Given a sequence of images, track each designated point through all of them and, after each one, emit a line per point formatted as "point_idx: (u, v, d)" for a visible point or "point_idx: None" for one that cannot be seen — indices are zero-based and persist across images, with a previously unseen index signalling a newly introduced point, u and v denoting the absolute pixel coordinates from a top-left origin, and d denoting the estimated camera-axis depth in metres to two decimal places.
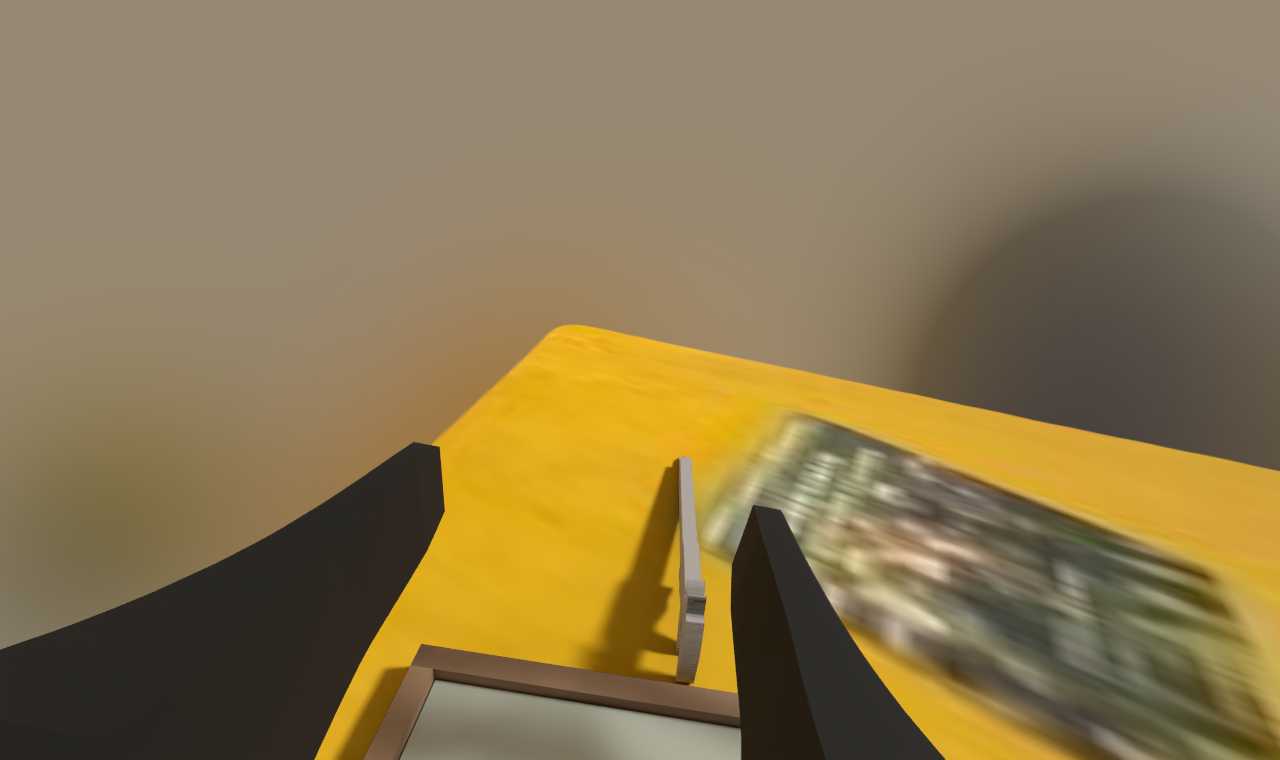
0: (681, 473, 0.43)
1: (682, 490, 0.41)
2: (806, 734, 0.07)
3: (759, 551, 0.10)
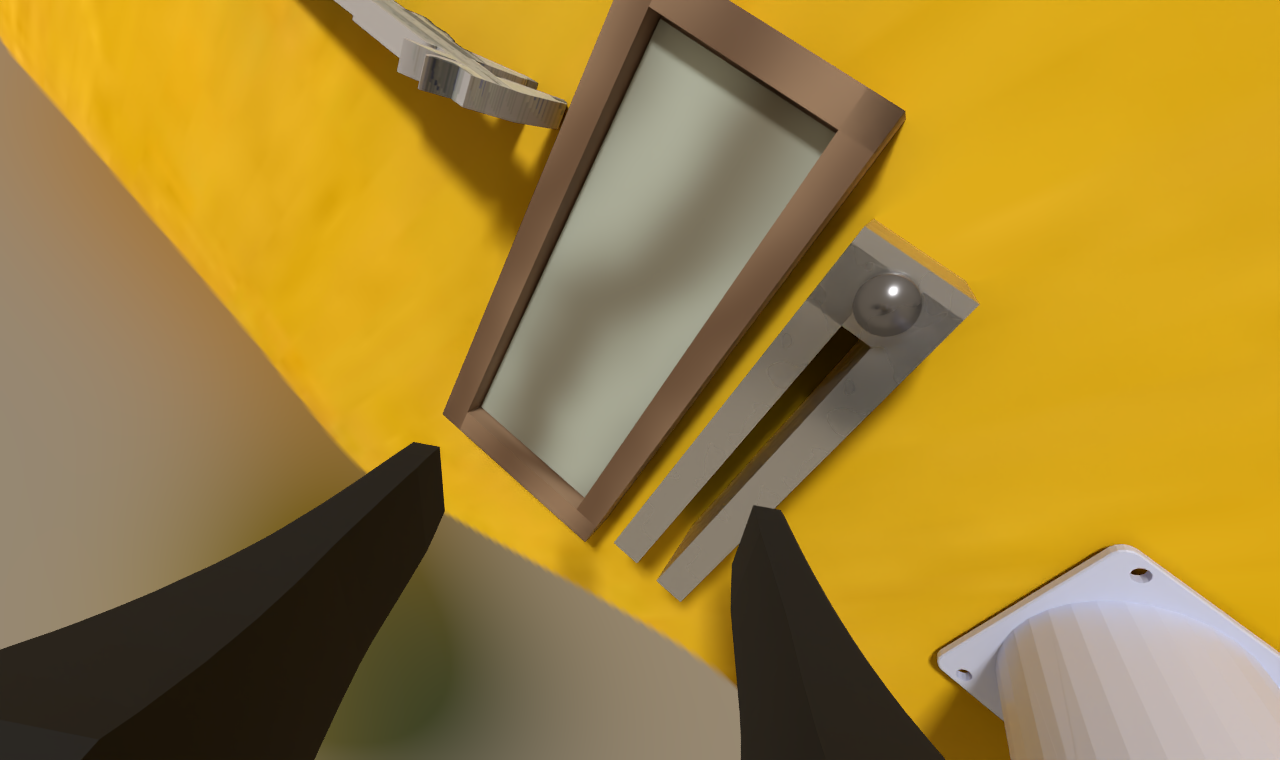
0: None
1: None
2: (807, 733, 0.07)
3: (759, 551, 0.10)
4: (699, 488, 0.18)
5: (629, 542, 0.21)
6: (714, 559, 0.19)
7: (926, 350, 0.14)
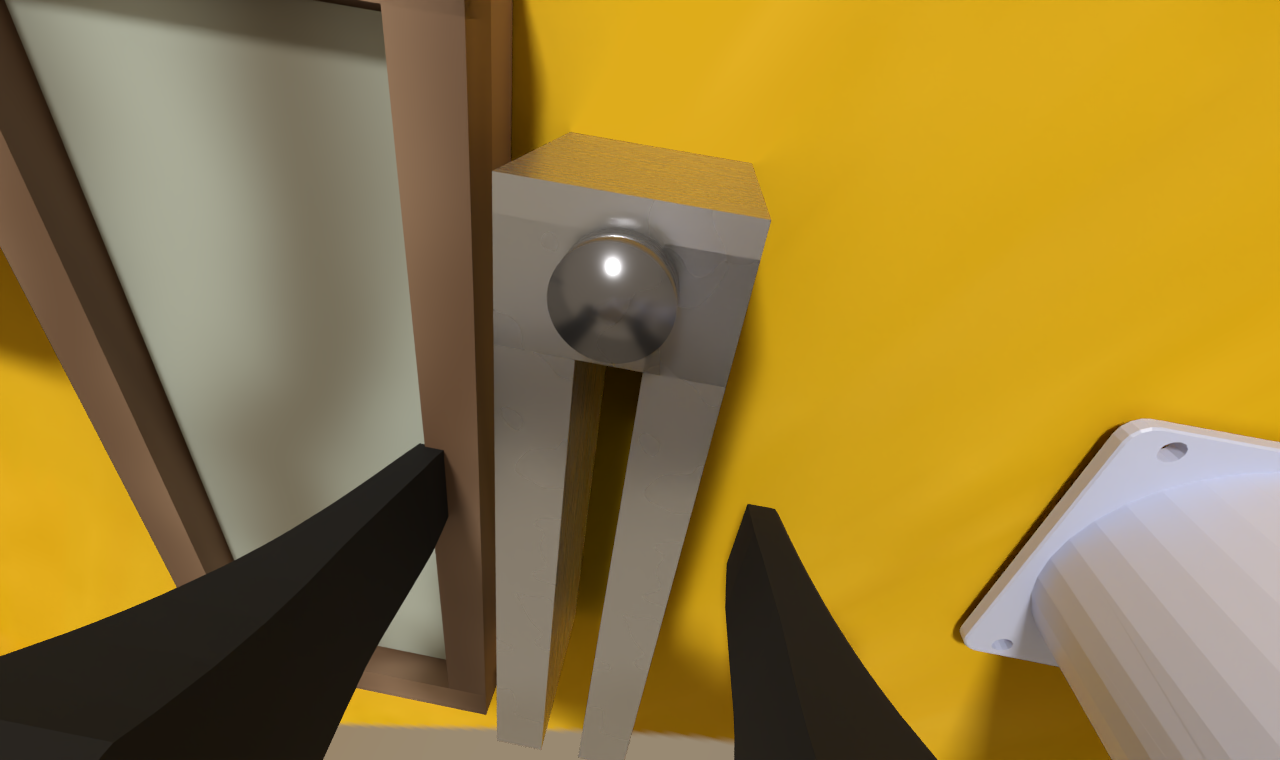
0: None
1: None
2: (797, 732, 0.07)
3: (753, 550, 0.10)
4: (547, 649, 0.11)
5: (513, 733, 0.14)
6: (627, 713, 0.12)
7: (730, 338, 0.07)
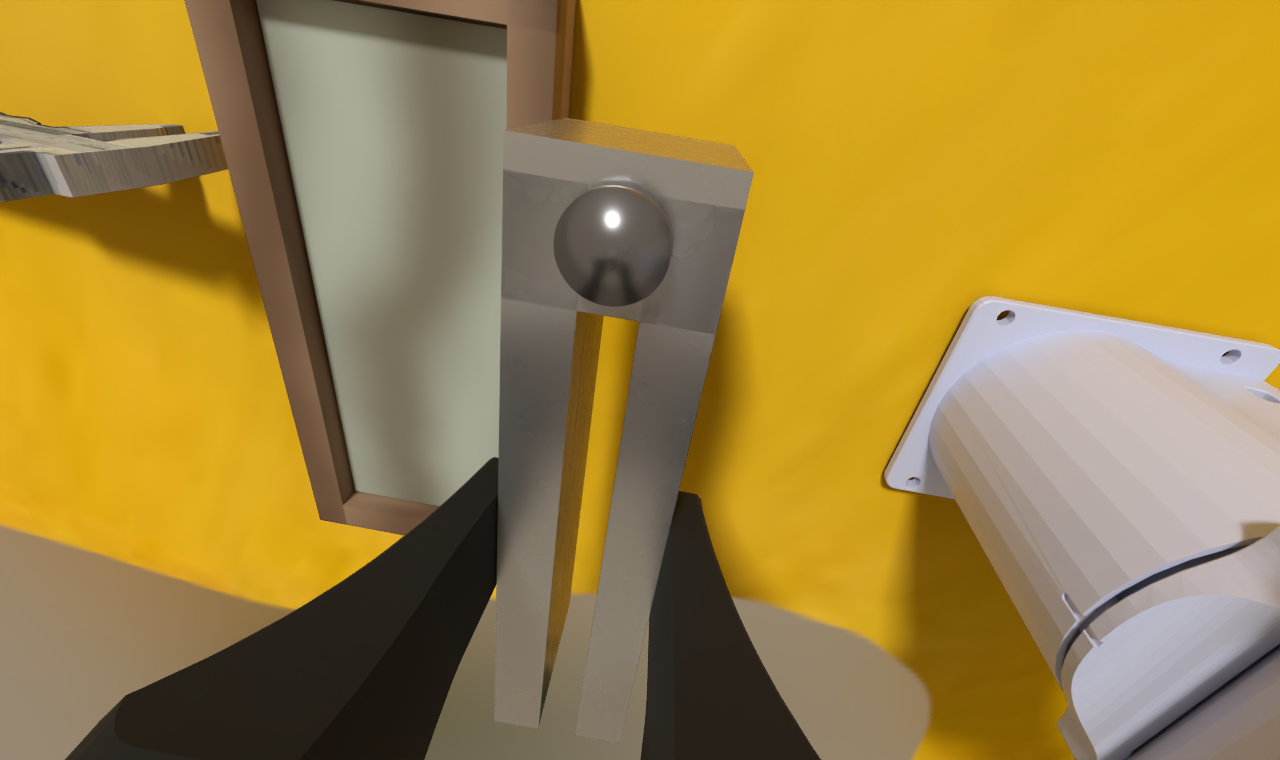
0: None
1: None
2: (670, 706, 0.07)
3: None
4: (546, 614, 0.12)
5: (511, 711, 0.14)
6: (624, 682, 0.13)
7: (719, 285, 0.08)
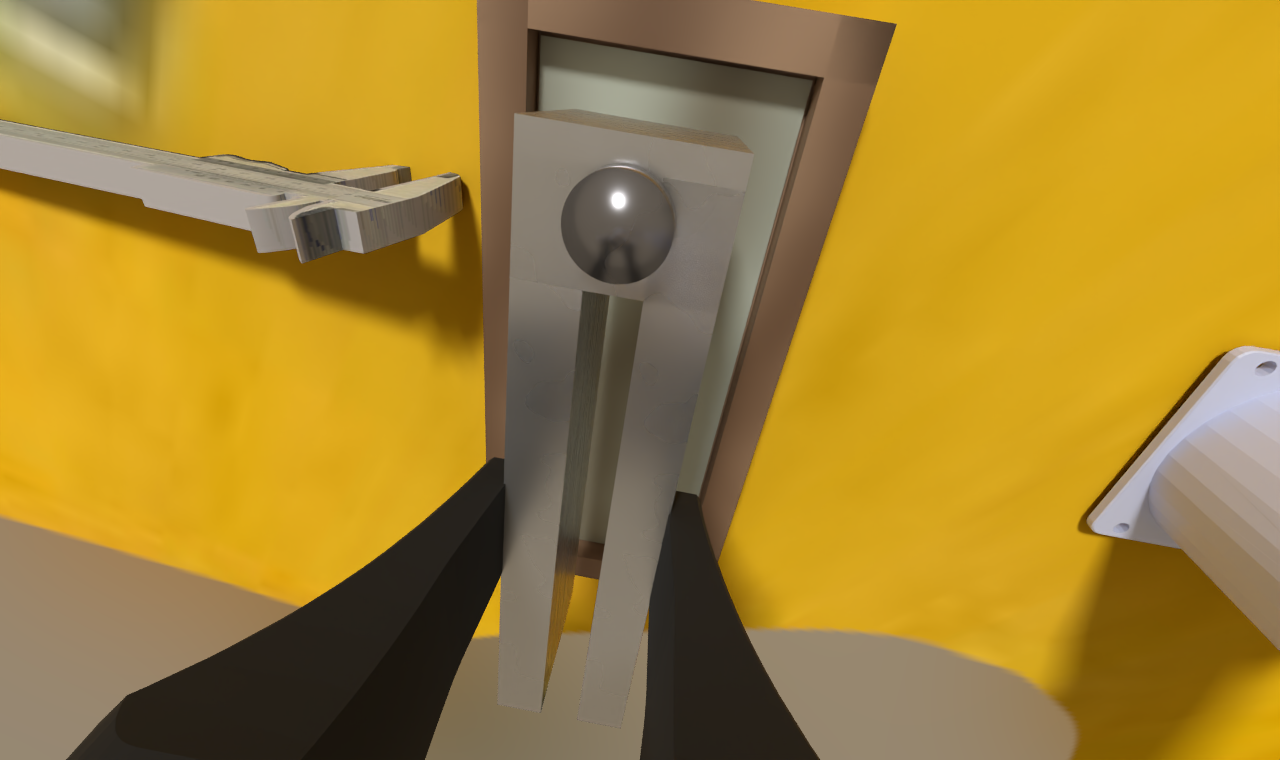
0: None
1: None
2: (670, 707, 0.07)
3: (667, 534, 0.10)
4: (550, 595, 0.12)
5: (514, 695, 0.14)
6: (626, 665, 0.13)
7: (720, 265, 0.08)
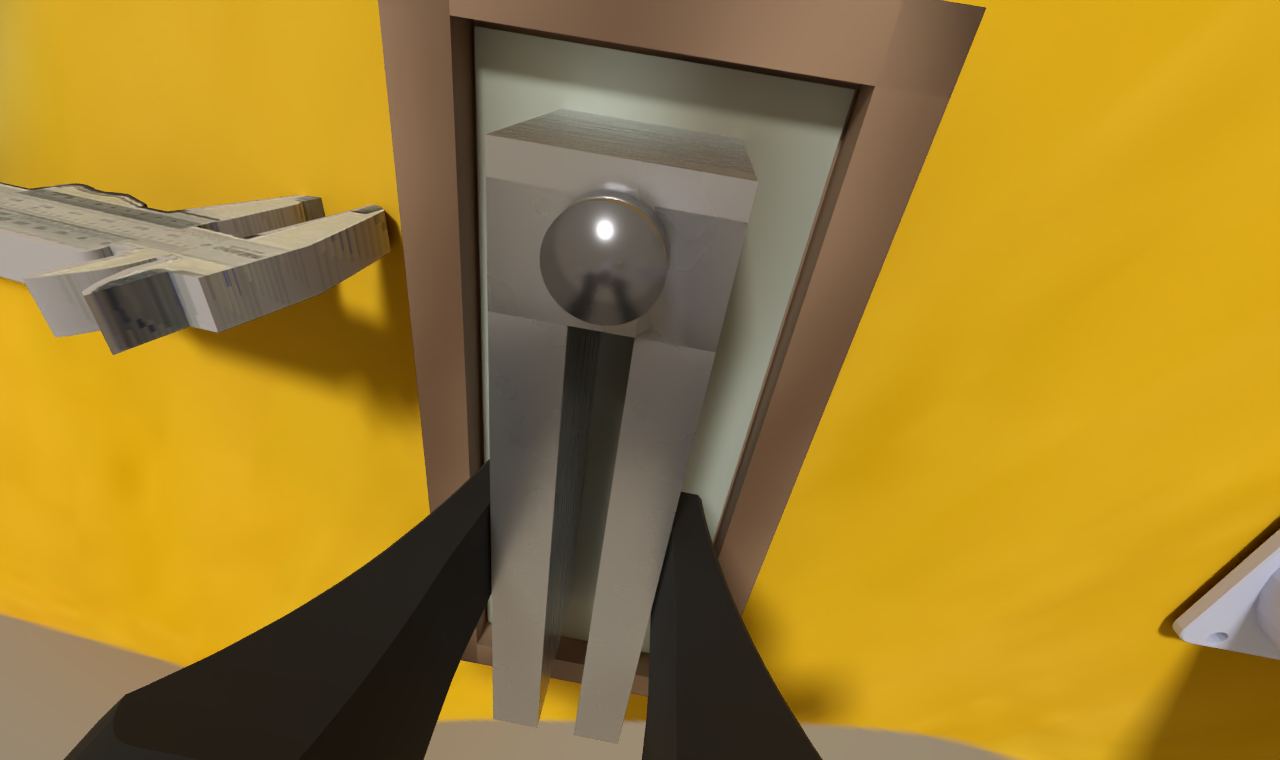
0: None
1: None
2: (672, 707, 0.07)
3: None
4: (542, 623, 0.12)
5: (509, 711, 0.14)
6: (622, 688, 0.13)
7: (720, 302, 0.07)
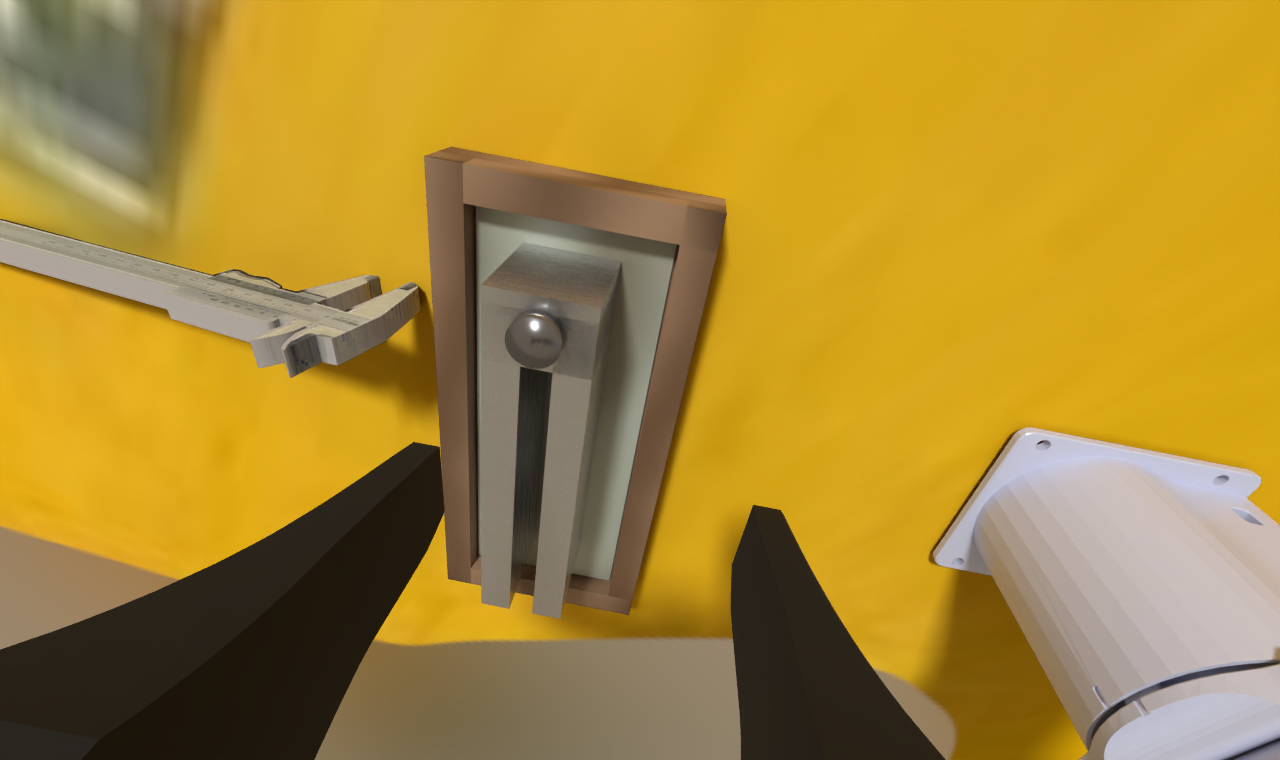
0: None
1: (39, 271, 0.20)
2: (807, 734, 0.07)
3: (759, 551, 0.10)
4: (511, 532, 0.20)
5: (491, 596, 0.22)
6: (560, 576, 0.21)
7: (590, 357, 0.15)
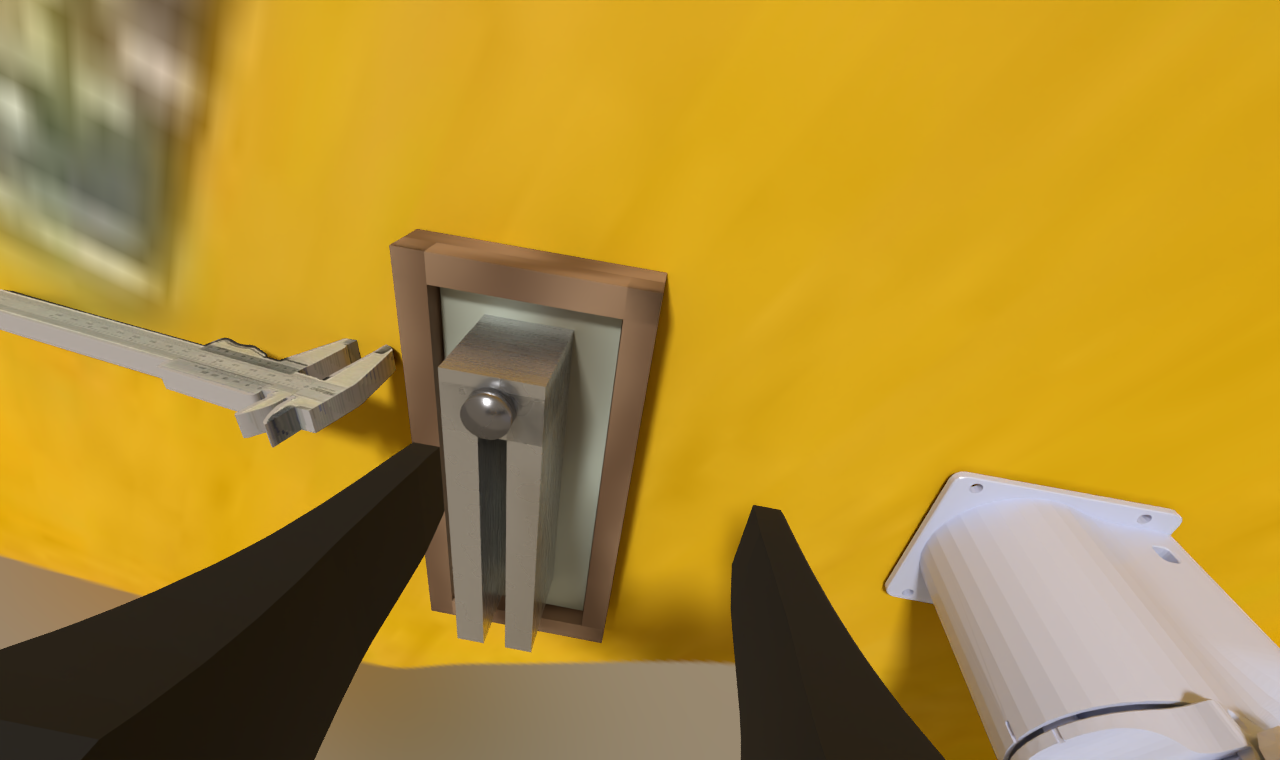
0: (3, 328, 0.22)
1: (48, 342, 0.22)
2: (807, 734, 0.07)
3: (759, 551, 0.10)
4: (480, 576, 0.21)
5: (467, 632, 0.24)
6: (528, 615, 0.22)
7: (540, 427, 0.17)
